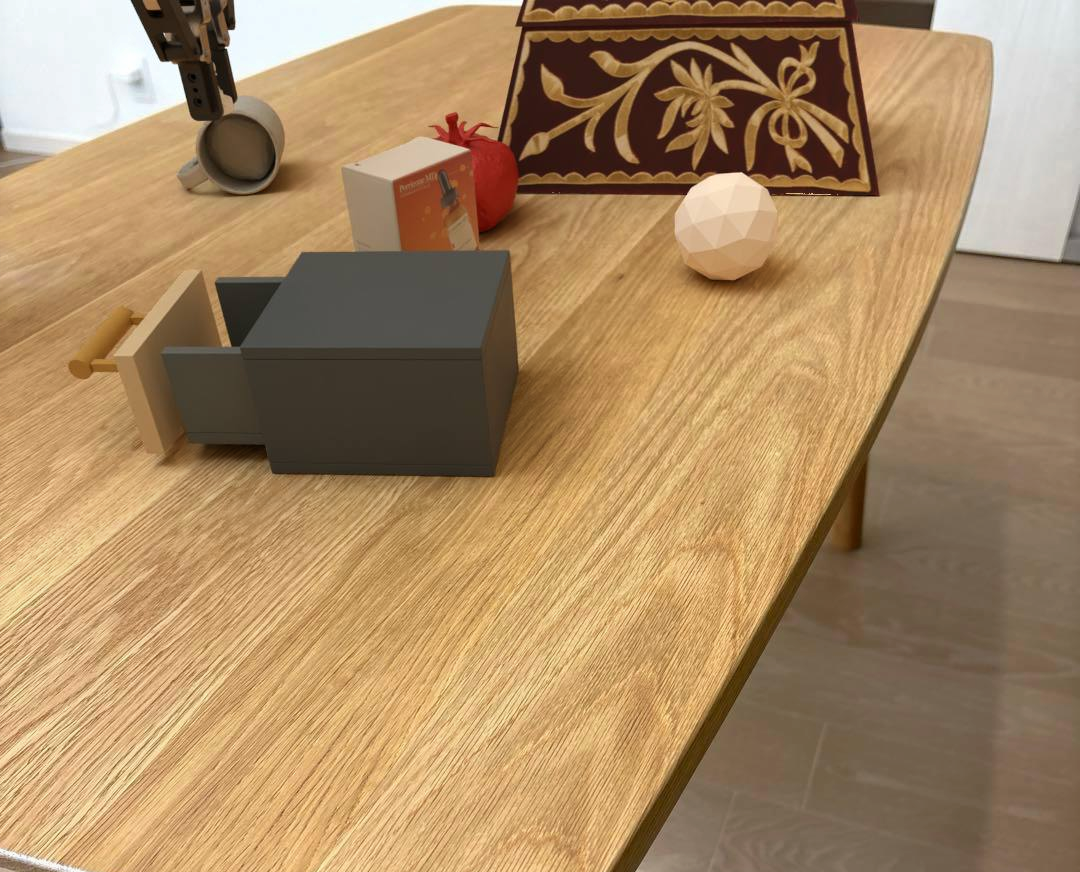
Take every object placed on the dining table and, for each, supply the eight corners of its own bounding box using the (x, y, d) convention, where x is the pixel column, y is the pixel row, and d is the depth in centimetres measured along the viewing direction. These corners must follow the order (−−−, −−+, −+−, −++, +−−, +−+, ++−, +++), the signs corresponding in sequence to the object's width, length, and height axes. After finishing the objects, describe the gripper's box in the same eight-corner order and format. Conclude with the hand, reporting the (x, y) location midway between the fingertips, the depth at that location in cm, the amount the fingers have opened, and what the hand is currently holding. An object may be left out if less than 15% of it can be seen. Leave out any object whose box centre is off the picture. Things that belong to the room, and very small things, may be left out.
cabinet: (271, 473, 65) (238, 347, 59) (325, 368, 74) (301, 251, 69) (494, 477, 63) (481, 347, 58) (519, 369, 73) (509, 249, 67)
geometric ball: (715, 318, 83) (673, 260, 76) (687, 245, 87) (645, 184, 80) (806, 269, 80) (771, 205, 74) (773, 196, 84) (737, 130, 78)
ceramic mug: (293, 161, 108) (276, 81, 103) (288, 190, 101) (269, 107, 96) (187, 173, 107) (165, 93, 102) (175, 203, 101) (151, 120, 96)
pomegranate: (533, 200, 96) (526, 93, 90) (505, 246, 89) (496, 132, 83) (428, 196, 98) (415, 91, 92) (392, 241, 91) (376, 129, 85)
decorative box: (864, 122, 107) (895, -111, 95) (879, 196, 93) (918, -69, 80) (522, 123, 113) (508, -97, 100) (485, 192, 98) (464, -55, 86)
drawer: (77, 453, 66) (38, 355, 62) (148, 360, 75) (118, 269, 70) (345, 456, 64) (324, 356, 60) (385, 361, 73) (370, 268, 68)
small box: (409, 322, 79) (389, 181, 72) (361, 301, 82) (337, 165, 75) (486, 283, 83) (473, 147, 77) (437, 265, 86) (421, 133, 80)
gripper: (131, -190, 70) (197, 84, 81) (36, -165, 60) (127, 147, 71) (241, -196, 70) (293, 81, 81) (165, -172, 59) (237, 144, 70)
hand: (215, 110), depth 75 cm, fingers closed on chess pawn, 2 cm apart
